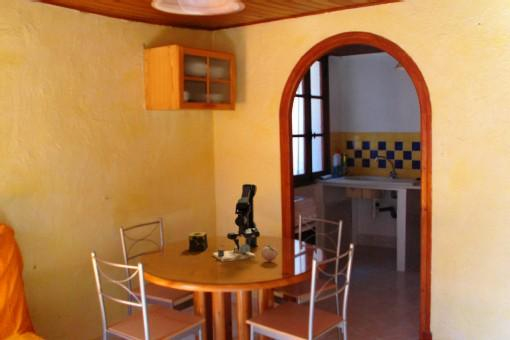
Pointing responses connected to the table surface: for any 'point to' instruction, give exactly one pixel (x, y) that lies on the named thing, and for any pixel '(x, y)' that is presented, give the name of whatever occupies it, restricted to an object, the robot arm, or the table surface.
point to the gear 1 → (235, 250)
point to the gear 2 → (244, 248)
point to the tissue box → (198, 241)
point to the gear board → (232, 255)
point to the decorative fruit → (269, 253)
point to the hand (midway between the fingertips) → (244, 249)
